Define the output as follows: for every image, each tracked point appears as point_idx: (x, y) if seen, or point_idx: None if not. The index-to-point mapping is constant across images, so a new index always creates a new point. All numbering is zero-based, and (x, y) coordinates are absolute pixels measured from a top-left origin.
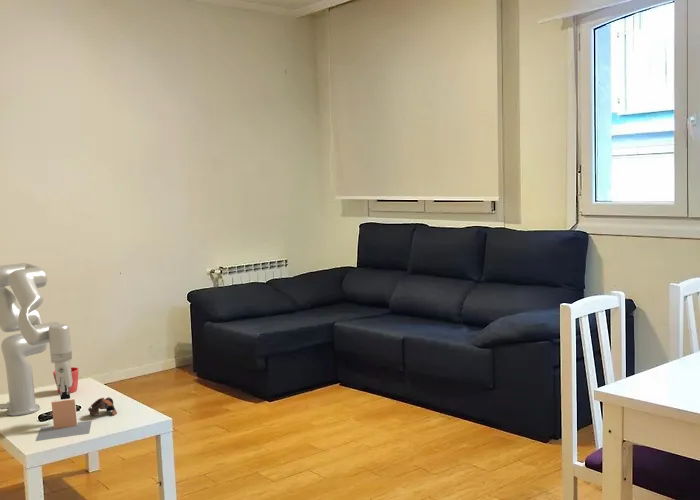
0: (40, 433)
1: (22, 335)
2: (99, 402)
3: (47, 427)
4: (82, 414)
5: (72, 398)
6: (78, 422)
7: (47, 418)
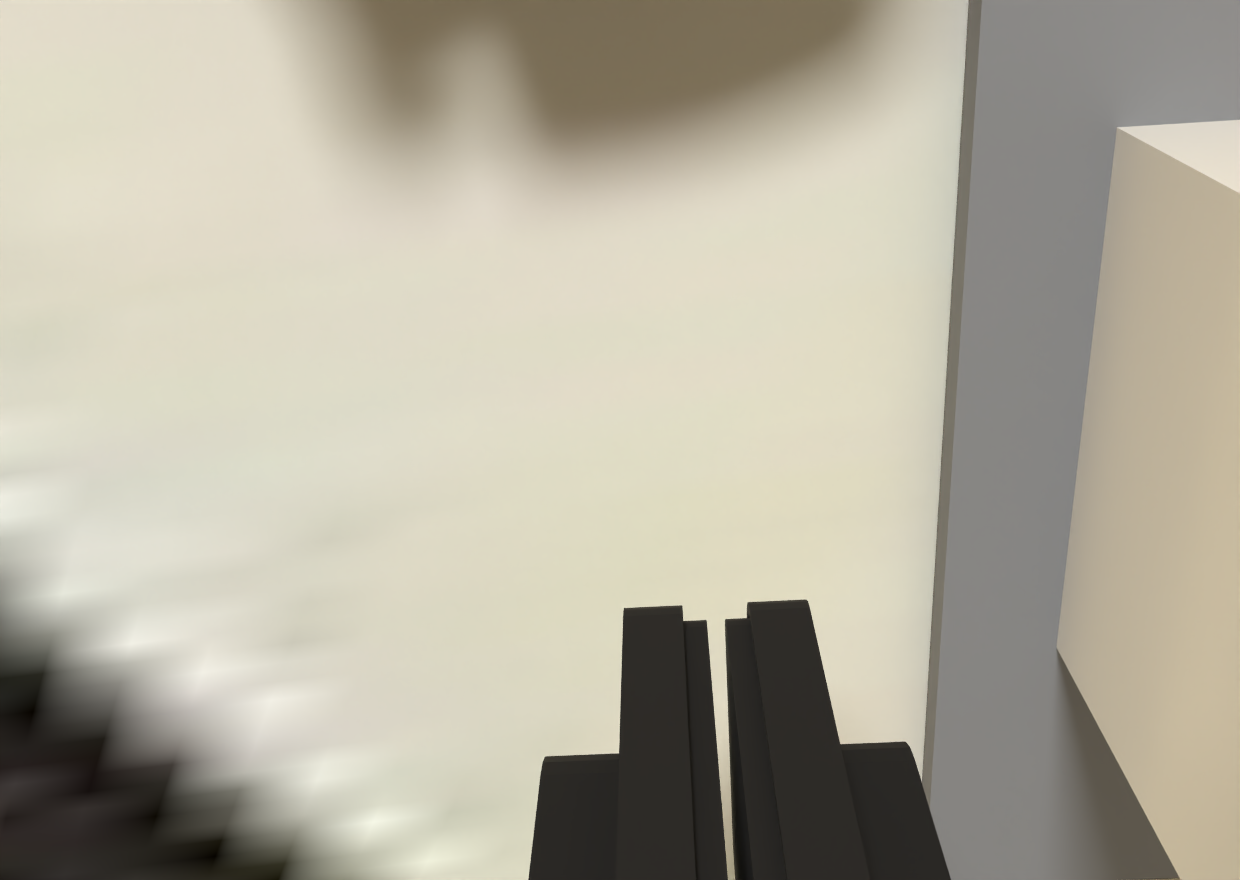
0: None
1: None
2: None
3: (1001, 777)
4: (13, 123)
5: None
6: (987, 114)
7: (168, 853)
